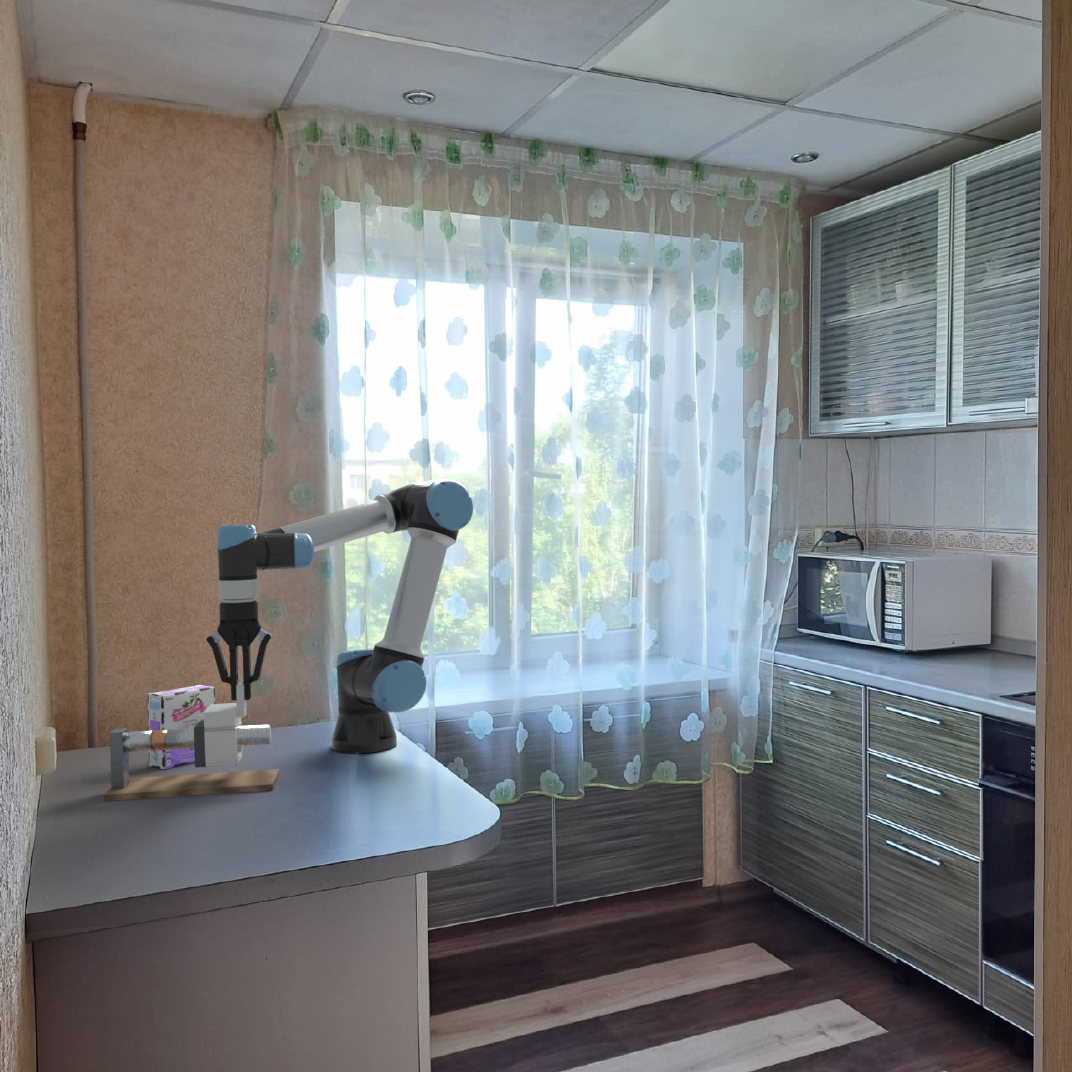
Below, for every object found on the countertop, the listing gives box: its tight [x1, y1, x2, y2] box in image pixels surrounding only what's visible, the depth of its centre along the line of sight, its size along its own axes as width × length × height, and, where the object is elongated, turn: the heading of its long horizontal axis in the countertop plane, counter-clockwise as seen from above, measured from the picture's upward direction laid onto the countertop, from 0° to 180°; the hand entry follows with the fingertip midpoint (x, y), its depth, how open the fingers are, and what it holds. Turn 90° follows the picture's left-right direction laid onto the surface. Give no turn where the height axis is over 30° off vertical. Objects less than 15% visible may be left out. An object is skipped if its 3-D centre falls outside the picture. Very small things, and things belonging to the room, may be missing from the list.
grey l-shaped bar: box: [109, 723, 272, 789], centre depth 197 cm, size 31×4×11 cm, turn 98°
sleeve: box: [204, 702, 244, 768], centre depth 198 cm, size 6×8×11 cm
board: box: [102, 768, 280, 802], centre depth 198 cm, size 32×12×1 cm, turn 98°
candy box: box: [147, 684, 216, 770], centre depth 219 cm, size 14×6×16 cm, turn 143°
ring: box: [194, 719, 207, 769], centre depth 198 cm, size 2×8×8 cm, turn 8°
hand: (241, 715), depth 199 cm, fingers closed
